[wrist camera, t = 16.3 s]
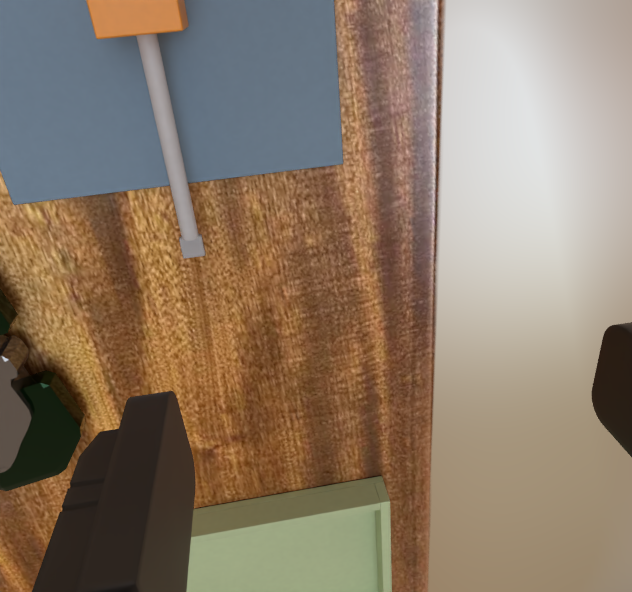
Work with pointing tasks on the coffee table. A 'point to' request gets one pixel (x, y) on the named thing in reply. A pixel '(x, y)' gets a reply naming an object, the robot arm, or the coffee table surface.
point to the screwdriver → (155, 89)
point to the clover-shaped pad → (32, 414)
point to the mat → (184, 89)
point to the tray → (295, 542)
